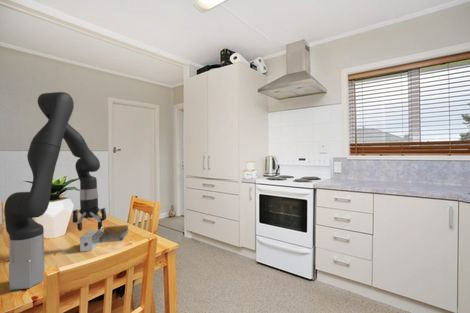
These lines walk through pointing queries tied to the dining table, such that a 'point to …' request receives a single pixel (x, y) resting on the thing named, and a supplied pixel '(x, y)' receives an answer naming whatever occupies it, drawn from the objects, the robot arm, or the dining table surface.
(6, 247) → the dining table surface
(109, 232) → the grey channel bracket
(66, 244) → the dining table surface
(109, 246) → the dining table surface
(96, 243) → the grey metal block
